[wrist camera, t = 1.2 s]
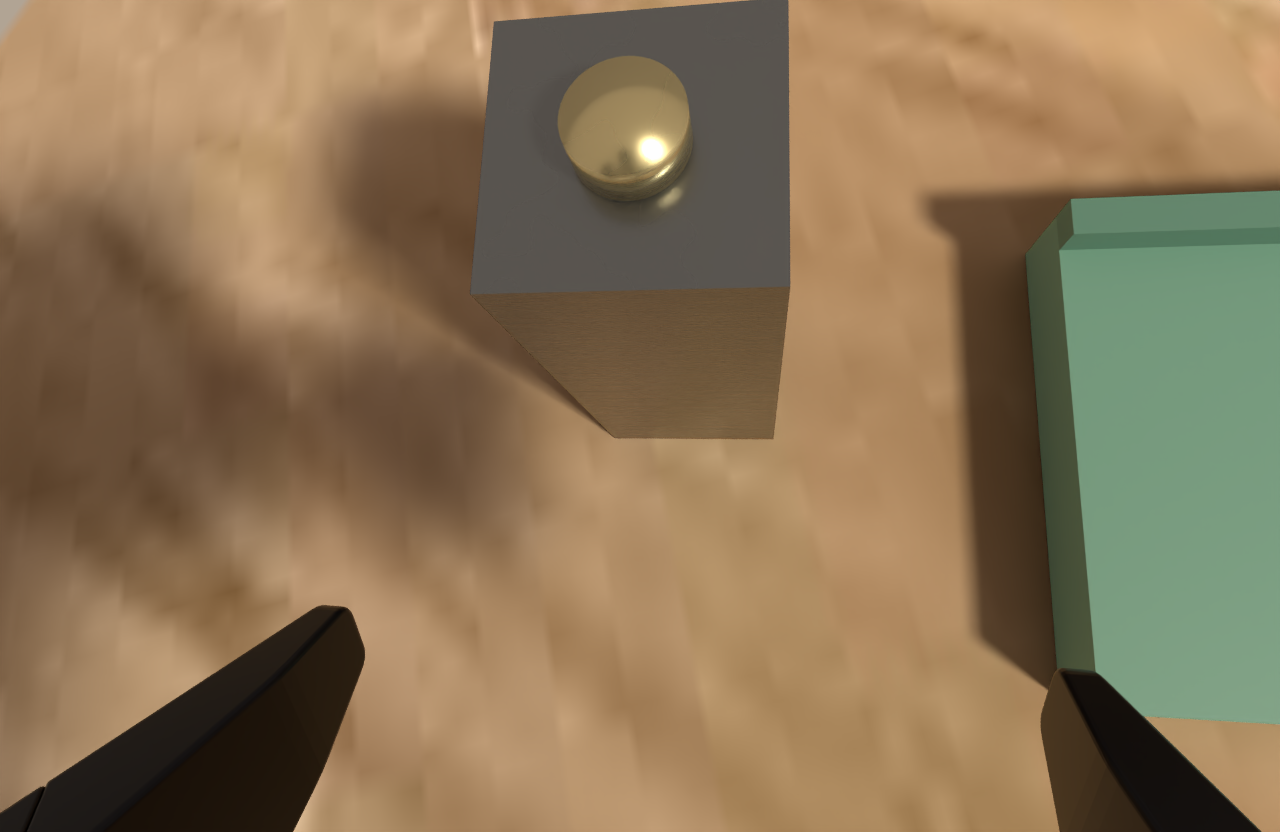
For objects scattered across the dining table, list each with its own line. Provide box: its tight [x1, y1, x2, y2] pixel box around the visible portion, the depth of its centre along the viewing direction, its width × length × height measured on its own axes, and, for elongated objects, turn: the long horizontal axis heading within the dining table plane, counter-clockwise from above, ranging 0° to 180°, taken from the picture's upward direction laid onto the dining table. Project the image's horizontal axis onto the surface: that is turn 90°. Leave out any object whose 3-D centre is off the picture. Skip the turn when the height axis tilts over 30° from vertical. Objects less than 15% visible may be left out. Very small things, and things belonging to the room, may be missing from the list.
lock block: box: [470, 0, 790, 439], centre depth 18 cm, size 5×5×13 cm
